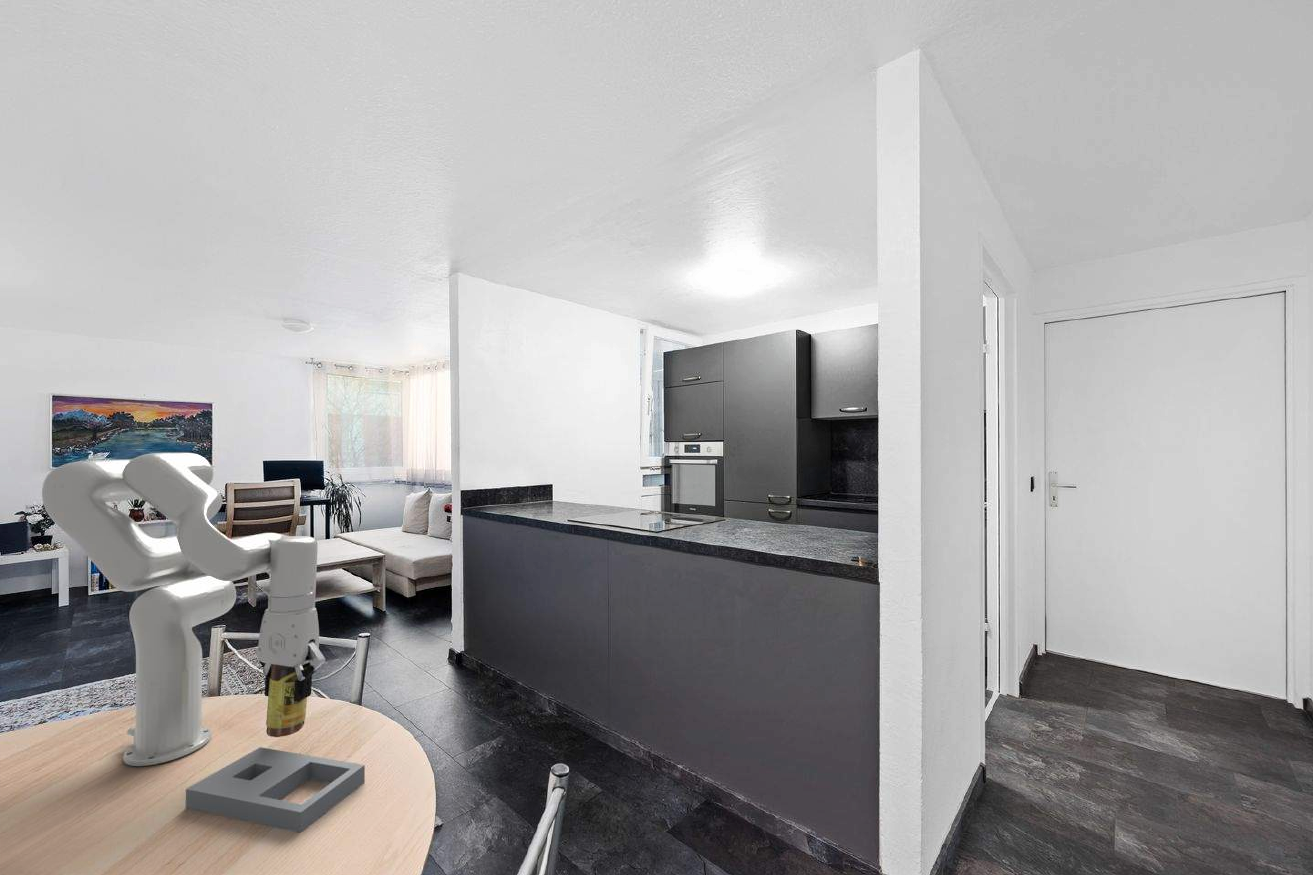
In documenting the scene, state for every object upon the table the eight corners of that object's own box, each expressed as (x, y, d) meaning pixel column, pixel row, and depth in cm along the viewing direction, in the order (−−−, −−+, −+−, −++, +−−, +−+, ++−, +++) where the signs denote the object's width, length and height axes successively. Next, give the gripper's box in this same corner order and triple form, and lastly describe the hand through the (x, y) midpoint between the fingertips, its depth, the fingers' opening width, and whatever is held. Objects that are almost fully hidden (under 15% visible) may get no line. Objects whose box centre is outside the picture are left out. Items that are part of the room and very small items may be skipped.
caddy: (185, 807, 87) (185, 788, 87) (259, 763, 99) (260, 747, 99) (300, 832, 81) (300, 812, 81) (364, 782, 93) (364, 764, 94)
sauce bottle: (285, 741, 100) (290, 633, 100) (257, 736, 101) (262, 629, 101) (314, 723, 106) (319, 622, 106) (287, 719, 107) (292, 619, 108)
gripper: (237, 602, 102) (233, 697, 102) (311, 612, 98) (307, 711, 98) (274, 592, 110) (270, 681, 109) (345, 601, 105) (341, 693, 105)
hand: (288, 694), depth 103 cm, fingers closed on sauce bottle, 6 cm apart
